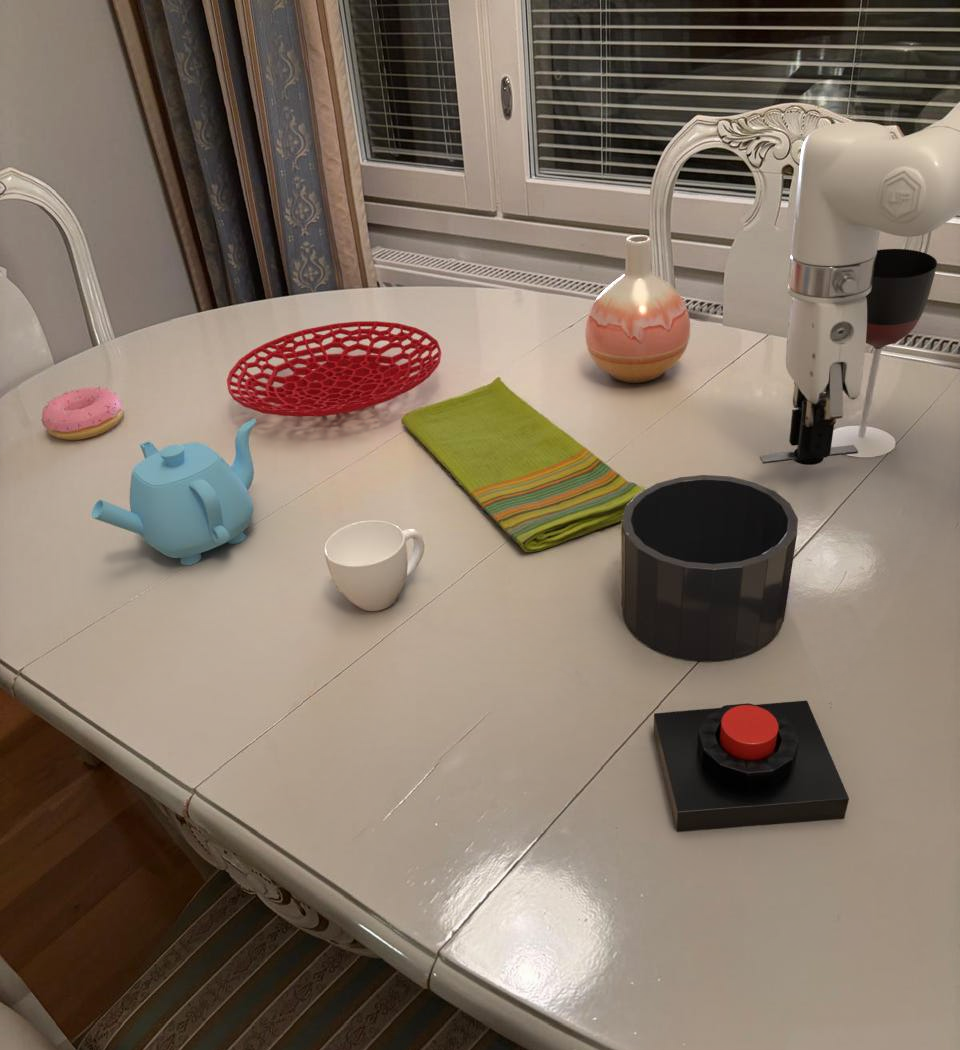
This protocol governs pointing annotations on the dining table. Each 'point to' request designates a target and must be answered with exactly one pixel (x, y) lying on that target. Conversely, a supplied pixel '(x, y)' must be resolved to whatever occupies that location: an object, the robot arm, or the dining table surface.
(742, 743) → the button
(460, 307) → the dining table surface
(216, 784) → the dining table surface
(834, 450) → the blade
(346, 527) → the cup
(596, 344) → the vase
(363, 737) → the dining table surface
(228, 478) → the teapot
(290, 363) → the bowl
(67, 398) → the doughnut
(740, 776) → the base unit
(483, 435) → the dish towel
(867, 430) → the wineglass
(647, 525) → the dark grey round bin
